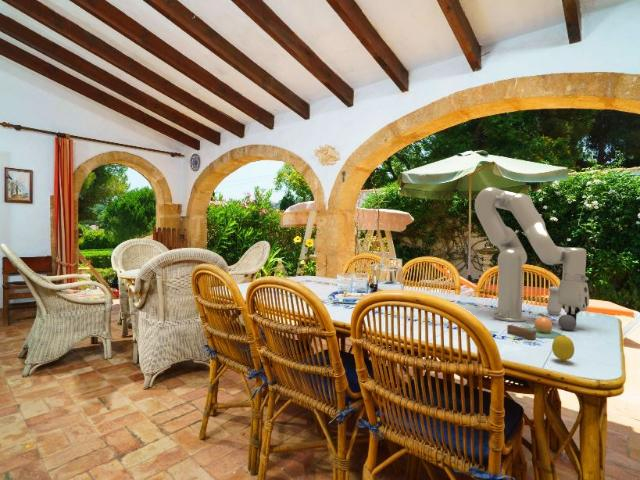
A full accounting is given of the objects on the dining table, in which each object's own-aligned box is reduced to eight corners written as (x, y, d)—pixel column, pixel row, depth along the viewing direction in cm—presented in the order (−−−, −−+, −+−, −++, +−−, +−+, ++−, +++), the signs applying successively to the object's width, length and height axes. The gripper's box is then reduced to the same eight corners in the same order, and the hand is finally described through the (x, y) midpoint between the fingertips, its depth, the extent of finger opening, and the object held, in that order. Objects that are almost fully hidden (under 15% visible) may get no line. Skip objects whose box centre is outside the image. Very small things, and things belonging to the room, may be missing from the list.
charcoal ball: (580, 321, 146) (573, 334, 145) (564, 315, 150) (557, 328, 150) (577, 316, 142) (570, 329, 141) (560, 310, 147) (553, 323, 146)
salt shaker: (564, 315, 171) (564, 287, 171) (551, 315, 171) (552, 287, 171) (556, 313, 177) (556, 286, 177) (544, 312, 177) (544, 285, 177)
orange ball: (558, 324, 141) (551, 337, 139) (542, 320, 146) (536, 333, 144) (551, 315, 138) (544, 329, 137) (535, 312, 144) (528, 325, 142)
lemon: (577, 365, 107) (578, 338, 106) (556, 363, 108) (557, 336, 107) (568, 359, 112) (569, 332, 112) (548, 357, 113) (549, 331, 113)
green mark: (546, 340, 132) (546, 339, 132) (511, 330, 144) (511, 329, 144) (570, 335, 137) (570, 335, 137) (535, 326, 150) (535, 326, 150)
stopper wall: (532, 340, 131) (532, 331, 131) (507, 333, 140) (507, 325, 140) (535, 339, 132) (536, 331, 132) (510, 332, 141) (511, 324, 141)
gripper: (599, 280, 144) (596, 327, 145) (560, 275, 157) (558, 318, 158) (587, 281, 141) (585, 328, 141) (549, 275, 154) (547, 319, 155)
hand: (571, 323), depth 150 cm, fingers closed
